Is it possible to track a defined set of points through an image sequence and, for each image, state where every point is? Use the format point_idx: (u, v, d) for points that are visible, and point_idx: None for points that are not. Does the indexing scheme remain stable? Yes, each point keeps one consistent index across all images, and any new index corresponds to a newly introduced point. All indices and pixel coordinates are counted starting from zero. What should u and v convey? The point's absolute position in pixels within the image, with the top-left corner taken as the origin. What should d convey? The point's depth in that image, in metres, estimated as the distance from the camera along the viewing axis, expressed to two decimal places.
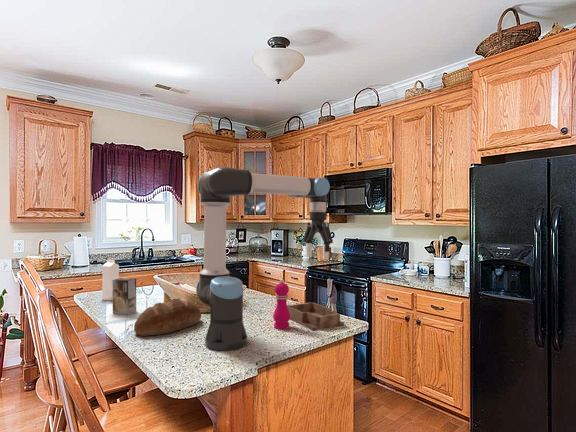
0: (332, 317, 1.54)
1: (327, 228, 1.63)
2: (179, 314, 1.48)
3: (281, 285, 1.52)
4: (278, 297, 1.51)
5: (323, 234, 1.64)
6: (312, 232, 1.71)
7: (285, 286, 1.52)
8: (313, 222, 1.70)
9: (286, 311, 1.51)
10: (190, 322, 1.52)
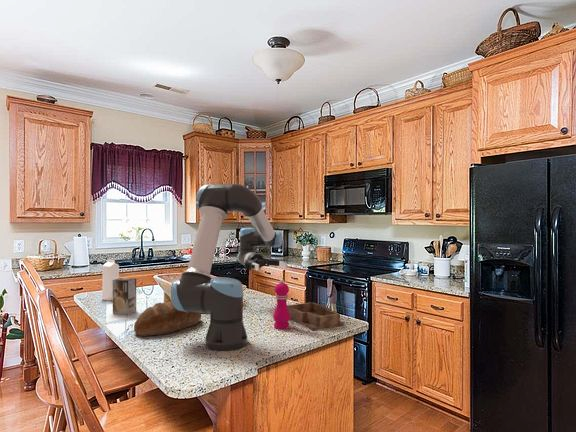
0: (332, 317, 1.54)
1: None
2: (179, 314, 1.48)
3: (281, 285, 1.52)
4: (278, 297, 1.51)
5: None
6: (255, 262, 1.70)
7: (285, 286, 1.52)
8: (254, 259, 1.75)
9: (286, 311, 1.51)
10: (190, 322, 1.52)
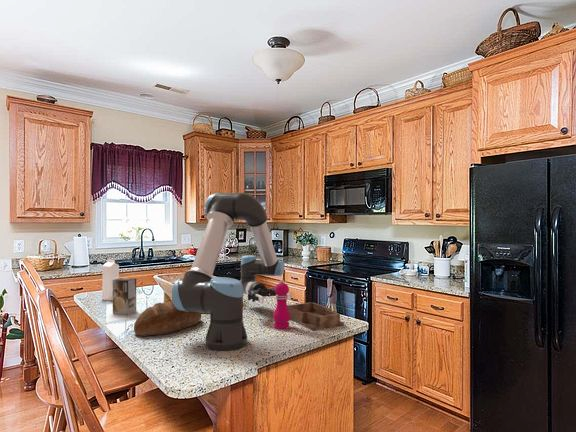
0: (332, 317, 1.54)
1: None
2: (178, 314, 1.48)
3: (281, 285, 1.52)
4: (278, 297, 1.51)
5: None
6: (258, 292, 1.67)
7: (285, 286, 1.52)
8: (256, 289, 1.72)
9: (286, 311, 1.51)
10: (190, 322, 1.52)
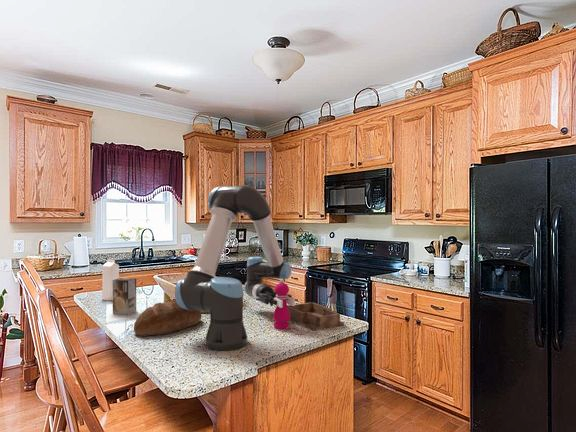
0: (332, 317, 1.54)
1: None
2: (178, 314, 1.47)
3: (281, 285, 1.52)
4: (278, 297, 1.51)
5: None
6: None
7: (285, 286, 1.52)
8: (262, 292, 1.64)
9: (286, 311, 1.51)
10: (189, 322, 1.52)
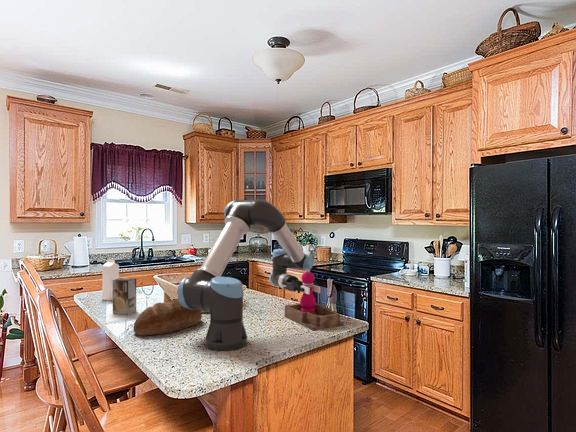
0: (332, 317, 1.54)
1: None
2: (178, 314, 1.47)
3: (308, 274, 1.65)
4: (305, 285, 1.65)
5: None
6: None
7: (311, 275, 1.66)
8: (288, 281, 1.78)
9: (312, 298, 1.65)
10: (189, 322, 1.52)
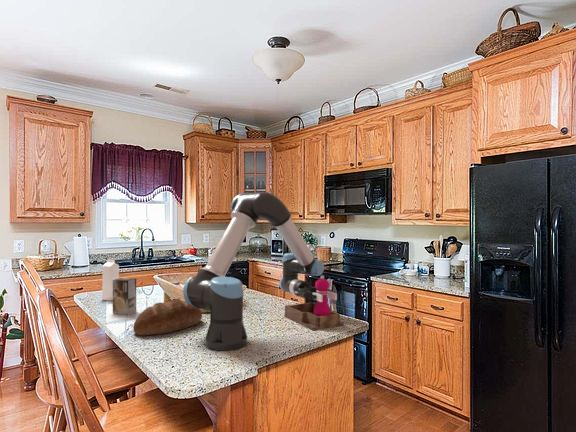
0: (332, 317, 1.54)
1: None
2: (177, 314, 1.47)
3: (322, 281, 1.55)
4: (319, 293, 1.55)
5: None
6: None
7: (326, 282, 1.56)
8: (301, 288, 1.68)
9: (327, 306, 1.55)
10: (189, 322, 1.51)
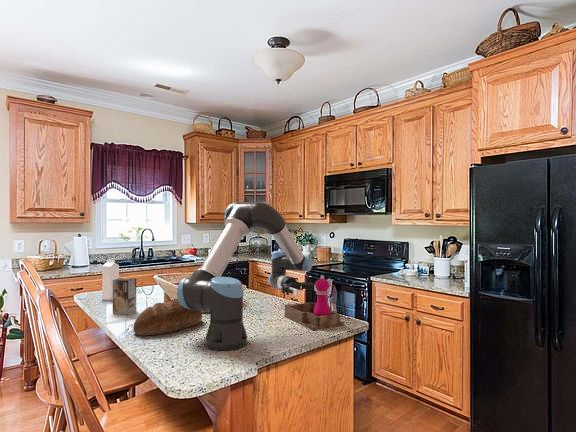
0: (332, 317, 1.54)
1: None
2: (177, 314, 1.47)
3: (322, 281, 1.55)
4: (319, 293, 1.55)
5: None
6: (291, 286, 1.74)
7: (326, 282, 1.56)
8: (288, 283, 1.79)
9: (327, 306, 1.55)
10: (189, 322, 1.51)
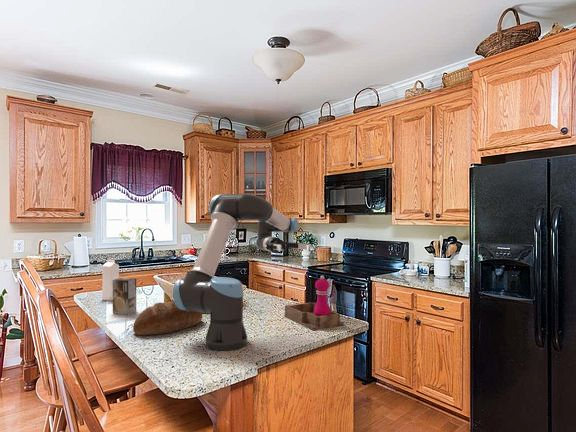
0: (332, 317, 1.54)
1: None
2: (177, 314, 1.47)
3: (322, 281, 1.55)
4: (319, 293, 1.55)
5: None
6: (276, 244, 1.80)
7: (326, 282, 1.56)
8: (273, 243, 1.84)
9: (327, 306, 1.55)
10: (189, 323, 1.51)
